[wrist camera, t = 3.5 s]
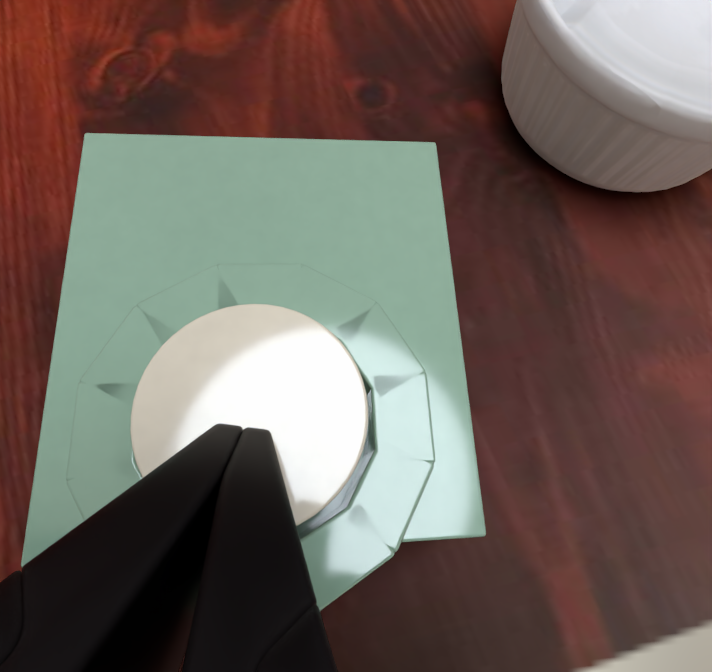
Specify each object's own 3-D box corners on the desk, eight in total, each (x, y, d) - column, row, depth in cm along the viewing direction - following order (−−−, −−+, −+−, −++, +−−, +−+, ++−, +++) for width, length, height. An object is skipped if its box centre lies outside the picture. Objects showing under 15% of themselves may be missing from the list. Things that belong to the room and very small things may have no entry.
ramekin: (480, -9, 23) (530, -152, 18) (707, 34, 23) (817, -92, 18) (471, 194, 19) (531, 85, 14) (742, 238, 20) (891, 149, 15)
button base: (444, 561, 15) (534, 600, 9) (92, 587, 13) (-61, 650, 8) (409, 215, 18) (456, 87, 13) (131, 212, 17) (47, 71, 12)
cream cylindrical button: (359, 523, 10) (376, 530, 8) (162, 535, 10) (117, 546, 7) (350, 342, 12) (362, 300, 9) (174, 346, 11) (139, 304, 9)
